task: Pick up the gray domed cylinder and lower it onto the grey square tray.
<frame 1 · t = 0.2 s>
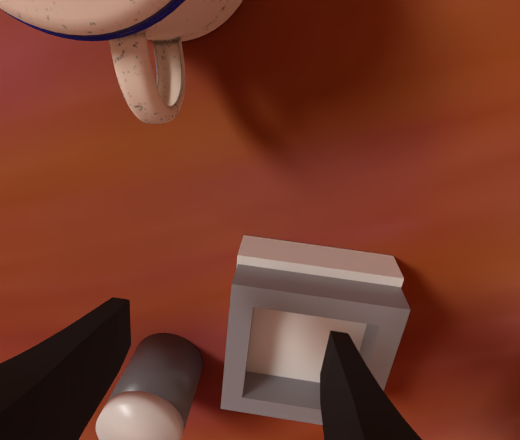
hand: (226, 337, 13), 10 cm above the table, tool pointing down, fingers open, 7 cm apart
grey square tray: (304, 312, 24), on the table
gray domed cylinder: (169, 360, 27), on the table
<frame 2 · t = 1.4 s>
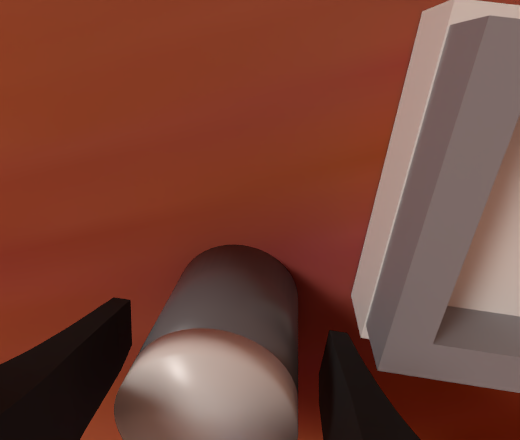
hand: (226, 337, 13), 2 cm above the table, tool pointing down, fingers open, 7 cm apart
grey square tray: (513, 193, 13), on the table
gray domed cylinder: (237, 298, 16), on the table
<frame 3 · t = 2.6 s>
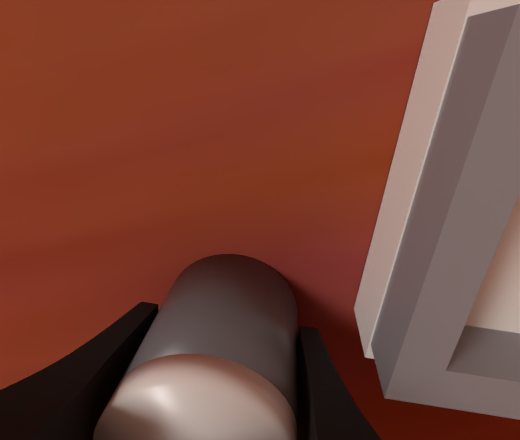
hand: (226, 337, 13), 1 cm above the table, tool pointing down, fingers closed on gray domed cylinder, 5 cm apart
gray domed cylinder: (232, 311, 15), on the table, touching gripper
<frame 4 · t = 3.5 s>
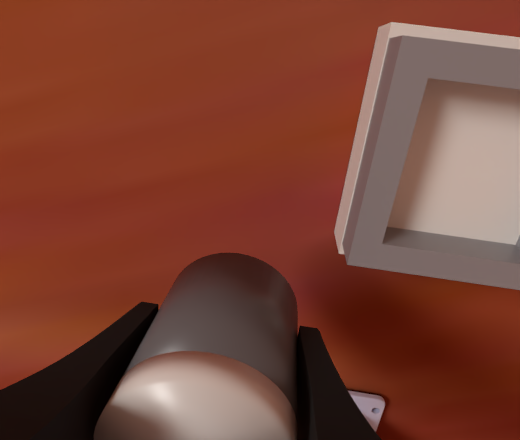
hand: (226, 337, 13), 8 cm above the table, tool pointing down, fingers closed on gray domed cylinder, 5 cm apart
grey square tray: (446, 153, 18), on the table
gray domed cylinder: (233, 309, 15), point 7 cm above the table, touching gripper
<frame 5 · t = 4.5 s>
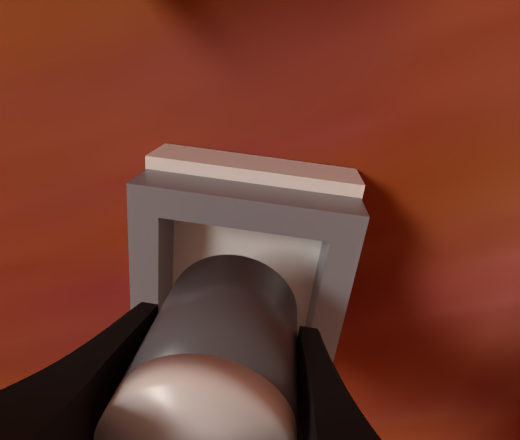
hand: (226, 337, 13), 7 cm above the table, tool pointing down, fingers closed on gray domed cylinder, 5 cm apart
grey square tray: (249, 250, 19), on the table
gray domed cylinder: (233, 311, 15), point 5 cm above the table, touching gripper
when the fingers open (5 cm above the table, at t = 5.2 s): gray domed cylinder drops 1 cm, resting on grey square tray.
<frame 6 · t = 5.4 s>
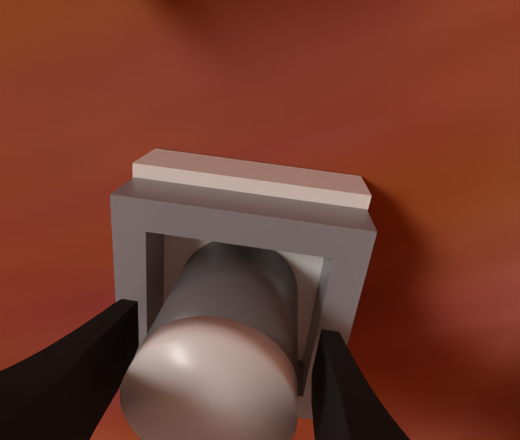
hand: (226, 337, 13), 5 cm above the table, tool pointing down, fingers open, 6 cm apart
grey square tray: (246, 261, 18), on the table
gray domed cylinder: (238, 290, 16), point 2 cm above the table, touching grey square tray
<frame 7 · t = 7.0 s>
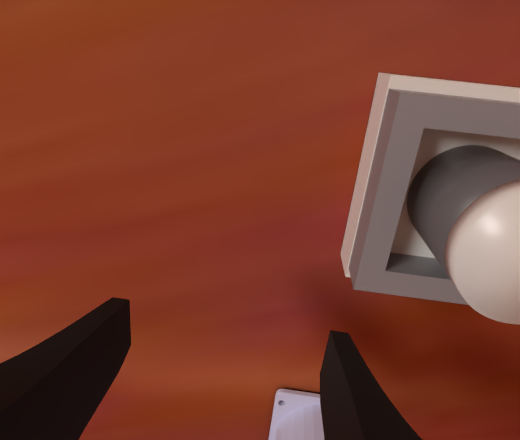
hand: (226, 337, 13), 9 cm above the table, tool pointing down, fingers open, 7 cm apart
grey square tray: (443, 182, 20), on the table
gray domed cylinder: (462, 198, 17), point 2 cm above the table, touching grey square tray
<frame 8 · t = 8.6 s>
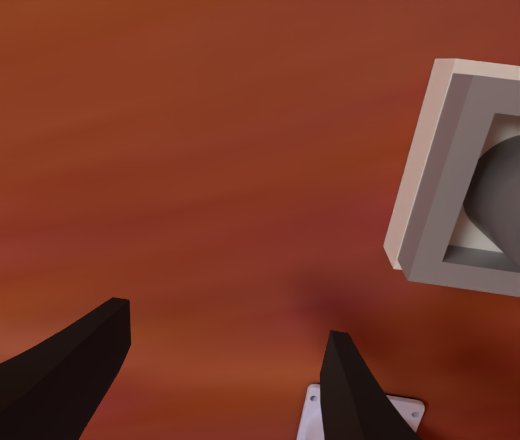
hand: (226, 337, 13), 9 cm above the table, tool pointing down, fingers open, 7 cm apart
grey square tray: (493, 173, 19), on the table
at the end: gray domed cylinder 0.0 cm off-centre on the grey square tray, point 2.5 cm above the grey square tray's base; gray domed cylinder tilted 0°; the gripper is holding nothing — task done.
